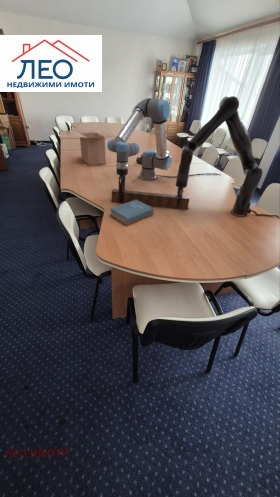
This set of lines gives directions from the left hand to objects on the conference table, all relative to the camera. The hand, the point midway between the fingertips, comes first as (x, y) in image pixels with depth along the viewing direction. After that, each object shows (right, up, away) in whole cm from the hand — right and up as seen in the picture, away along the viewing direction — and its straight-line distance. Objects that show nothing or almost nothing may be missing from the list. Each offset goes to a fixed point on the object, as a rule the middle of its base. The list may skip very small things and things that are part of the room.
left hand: (121, 200), depth 160 cm
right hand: (+40, -2, -4) cm, 40 cm away
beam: (+20, -3, -1) cm, 20 cm away
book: (+8, -13, -16) cm, 22 cm away
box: (-37, +59, +77) cm, 104 cm away
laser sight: (+20, +57, +80) cm, 100 cm away
